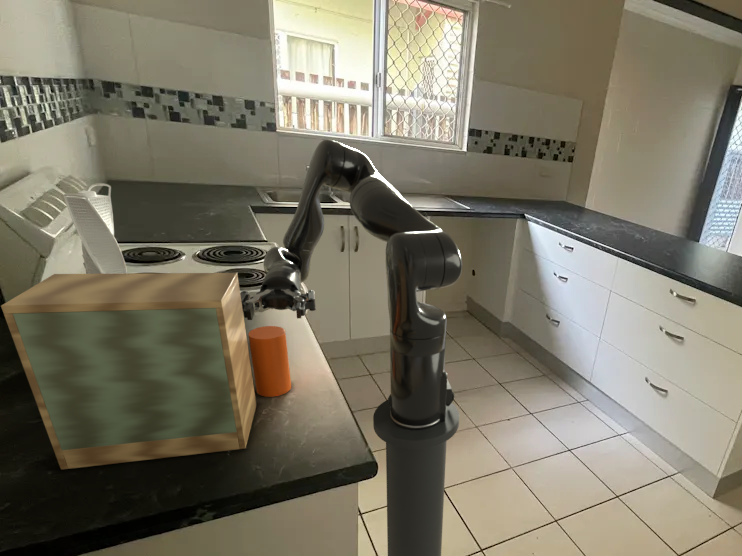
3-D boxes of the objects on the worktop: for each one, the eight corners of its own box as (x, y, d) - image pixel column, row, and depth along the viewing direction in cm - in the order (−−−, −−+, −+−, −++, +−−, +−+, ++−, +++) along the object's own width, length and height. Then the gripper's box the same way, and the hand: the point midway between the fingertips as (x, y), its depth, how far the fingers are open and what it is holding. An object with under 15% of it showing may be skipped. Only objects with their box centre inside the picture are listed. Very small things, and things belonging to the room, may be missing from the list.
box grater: (139, 303, 113) (109, 180, 101) (142, 314, 107) (111, 186, 96) (93, 308, 108) (56, 180, 96) (93, 320, 102) (55, 186, 91)
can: (292, 379, 88) (286, 325, 83) (290, 395, 83) (283, 338, 78) (258, 382, 86) (250, 326, 81) (254, 398, 81) (245, 340, 76)
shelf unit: (256, 404, 79) (237, 272, 70) (245, 448, 69) (221, 300, 60) (98, 418, 72) (53, 273, 63) (60, 469, 62) (0, 305, 53)
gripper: (242, 270, 100) (228, 296, 86) (315, 270, 104) (313, 295, 90) (247, 303, 103) (234, 334, 89) (317, 302, 107) (315, 331, 93)
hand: (274, 314), depth 90 cm, fingers open, 8 cm apart
